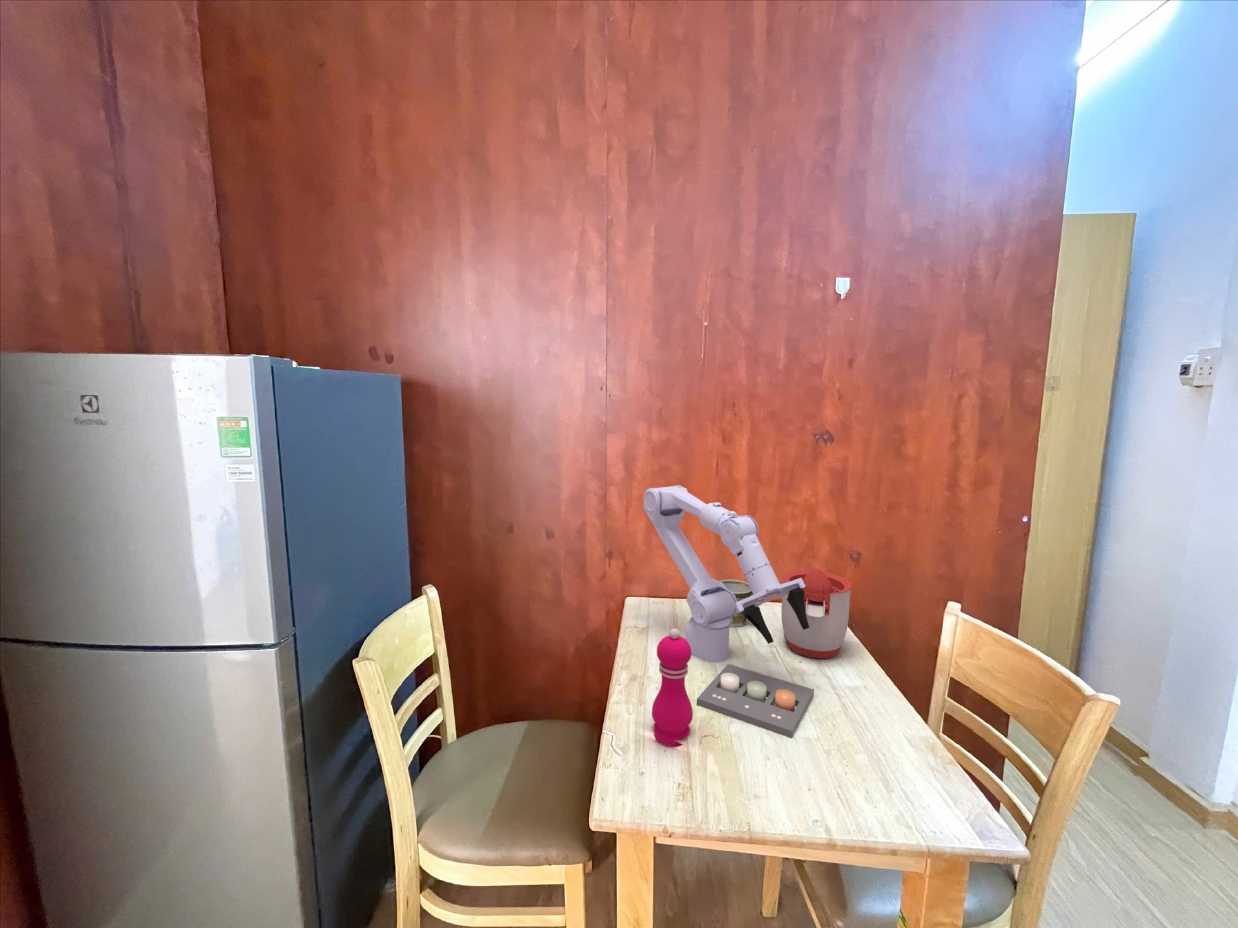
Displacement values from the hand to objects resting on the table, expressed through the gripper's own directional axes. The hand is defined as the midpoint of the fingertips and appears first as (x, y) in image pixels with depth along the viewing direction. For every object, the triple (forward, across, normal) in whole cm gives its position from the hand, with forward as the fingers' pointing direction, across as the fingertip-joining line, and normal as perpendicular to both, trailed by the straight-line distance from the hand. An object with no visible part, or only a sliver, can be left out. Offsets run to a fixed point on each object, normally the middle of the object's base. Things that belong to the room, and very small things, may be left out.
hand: (788, 635), depth 105 cm
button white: (+5, -14, +8) cm, 17 cm away
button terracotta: (+12, -6, +4) cm, 14 cm away
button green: (+8, -10, +6) cm, 14 cm away
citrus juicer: (+4, +12, +27) cm, 30 cm away
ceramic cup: (-9, 0, +39) cm, 40 cm away
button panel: (+9, -10, +7) cm, 15 cm away
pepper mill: (+8, -28, -2) cm, 29 cm away
